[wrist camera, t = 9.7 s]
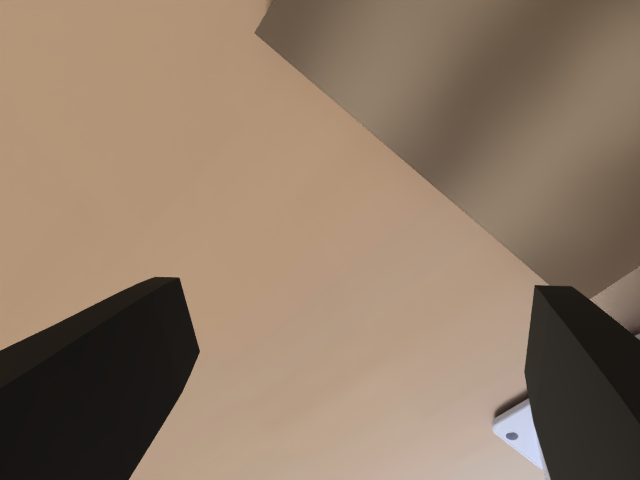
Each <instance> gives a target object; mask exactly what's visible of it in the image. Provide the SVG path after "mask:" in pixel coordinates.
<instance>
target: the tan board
mask: <svg viewBox="0 0 640 480" xmlns="http://www.w3.org/2000/svg"><path fill="white" fill-rule="evenodd" d="M255 34H256V35H257V36H258V37H260V38H261V39H262V40H263V41H264V42H266V43H267V44H268V45H269V46H270V47H271V48H273V49H274V50H275V51H276V52H277V53H278V54H280V55H281V56H282V57H283V58H284V59H285V60H287V61H288V62H289V63H290V64H291V65H292V66H294V67H295V68H296V69H297V70H298V71H299V72H301V73H302V74H303V75H304V76H305V77H307V78H308V79H309V80H310V81H311V82H312V83H314V84H315V85H316V86H317V87H318V88H319V89H321V90H322V91H323V92H324V93H325V94H326V95H328V96H329V97H330V98H331V99H332V100H333V101H335V102H336V103H337V104H338V105H339V106H341V107H342V108H343V109H344V110H345V111H346V112H348V113H349V114H350V115H351V116H352V117H353V118H355V119H356V120H357V121H358V122H359V123H360V124H362V125H363V126H364V127H365V128H366V129H367V130H369V131H370V132H371V133H372V134H373V135H374V136H376V137H377V138H378V139H379V140H380V141H382V142H383V143H384V144H385V145H386V146H387V147H389V148H390V149H391V150H392V151H393V152H394V153H396V154H397V155H398V156H399V157H400V158H401V159H403V160H404V161H405V162H406V163H407V164H408V165H410V166H411V167H412V168H413V169H414V170H416V171H417V172H418V173H419V174H420V175H421V176H423V177H424V178H425V179H426V180H427V181H428V182H430V183H431V184H432V185H433V186H434V187H435V188H437V189H438V190H439V191H440V192H441V193H442V194H444V195H445V196H446V197H447V198H448V199H449V200H451V201H452V202H453V203H454V204H455V205H457V206H458V207H459V208H460V209H461V210H462V211H464V212H465V213H466V214H467V215H468V216H469V217H471V218H472V219H473V220H474V221H475V222H476V223H478V224H479V225H480V226H481V227H482V228H483V229H485V230H486V231H487V232H488V233H489V234H491V235H492V236H493V237H494V238H495V239H496V240H498V241H499V242H500V243H501V244H502V245H503V246H505V247H506V248H507V249H508V250H509V251H510V252H512V253H513V254H514V255H515V256H516V257H517V258H519V259H520V260H521V261H522V262H523V263H524V264H526V265H527V266H528V267H529V268H530V269H532V270H533V271H534V272H535V273H536V274H537V275H539V276H540V277H541V278H542V279H543V280H544V281H546V282H547V283H548V284H549V285H550V286H572V287H574V288H575V289H576V290H578V291H579V292H580V293H582V294H583V295H584V296H586V297H587V298H588V299H590V298H592V297H593V296H595V295H596V294H598V293H600V292H601V291H603V290H604V289H606V288H607V287H609V286H610V285H612V284H613V283H615V282H616V281H618V280H619V279H621V278H622V277H624V276H625V275H627V274H628V273H630V272H631V271H633V270H634V269H636V268H637V267H639V266H640V0H274V2H273V3H272V5H271V7H270V8H269V10H268V11H267V13H266V15H265V16H264V18H263V20H262V21H261V23H260V25H259V26H258V28H257V29H256V31H255Z"/></svg>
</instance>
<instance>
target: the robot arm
mask: <svg viewBox="0 0 640 480" xmlns="http://www.w3.org/2000/svg"><path fill="white" fill-rule="evenodd" d="M199 352H200V350H199V347H198V343H197V339H196V336H195V332H194V329H193V325H192V321H191V318H190V314H189V311H188V307H187V304H186V300H185V296H184V293H183V289H182V286H181V282H180V278H175V277H154V278H151V279H148V280H146V281H143V282H141V283H138V284H136V285H134V286H132V287H129V288H127V289H125V290H123V291H121V292H119V293H117V294H115V295H113V296H111V297H109V298H107V299H105V300H103V301H101V302H99V303H97V304H95V305H93V306H91V307H89V308H87V309H85V310H83V311H81V312H79V313H77V314H75V315H73V316H71V317H69V318H67V319H65V320H63V321H61V322H59V323H57V324H55V325H53V326H51V327H49V328H47V329H45V330H43V331H41V332H39V333H36V334H34V335H32V336H30V337H28V338H26V339H24V340H22V341H20V342H17V343H15V344H13V345H11V346H9V347H7V348H5V349H3V350H1V351H0V480H129V478H130V477H131V475H132V473H133V472H134V470H135V469H136V467H137V465H138V464H139V462H140V461H141V459H142V457H143V456H144V454H145V452H146V451H147V449H148V448H149V446H150V444H151V443H152V441H153V440H154V438H155V436H156V435H157V433H158V431H159V430H160V428H161V427H162V425H163V423H164V422H165V420H166V418H167V417H168V415H169V413H170V412H171V410H172V408H173V407H174V405H175V404H176V402H177V400H178V398H179V397H180V395H181V393H182V391H183V389H184V387H185V385H186V383H187V381H188V378H189V376H190V374H191V372H192V369H193V367H194V364H195V362H196V360H197V357H198V355H199ZM525 378H526V384H527V390H528V396H529V398H528V399H527V400H525V401H523V402H521V403H520V404H518V405H516V406H515V407H513V408H511V409H510V410H508V411H506V412H504V413H503V414H501V415H499V416H498V417H496V418H495V419H493V421H492V429H493V432H494V433H495V434H496V435H497V436H499V437H500V438H501V439H503V440H504V441H505V442H506V443H508V444H509V445H510V446H512V447H513V448H514V449H515V450H517V451H518V452H519V453H521V454H522V455H523V456H525V457H526V458H527V459H528V460H530V461H531V462H532V463H534V464H535V465H536V466H537V467H539V468H540V469H541V470H543V471H544V475H545V479H546V480H640V334H638V335H636V336H634V335H633V334H632V333H630V332H629V331H628V330H627V329H625V328H624V327H623V326H622V325H620V324H619V323H618V322H617V321H615V320H614V319H613V318H612V317H610V316H609V315H608V314H607V313H605V312H604V311H603V310H602V309H600V308H599V307H598V306H597V305H596V304H594V303H593V302H592V301H591V300H589V299H588V298H587V297H586V296H584V295H583V294H582V293H580V292H579V291H578V290H576V289H575V288H574V287H572V286H543V285H535V288H534V296H533V305H532V313H531V322H530V330H529V338H528V347H527V355H526V364H525ZM509 432H514V433H509Z"/></svg>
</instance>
